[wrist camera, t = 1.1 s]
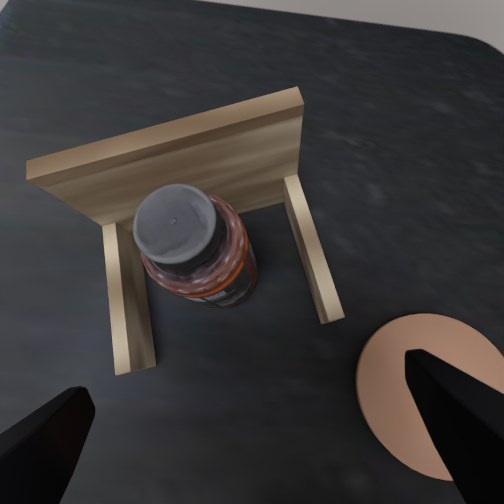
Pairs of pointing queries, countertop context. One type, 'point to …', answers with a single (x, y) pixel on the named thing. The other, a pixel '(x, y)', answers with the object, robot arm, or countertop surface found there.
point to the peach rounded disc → (397, 392)
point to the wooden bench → (195, 174)
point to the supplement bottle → (195, 246)
